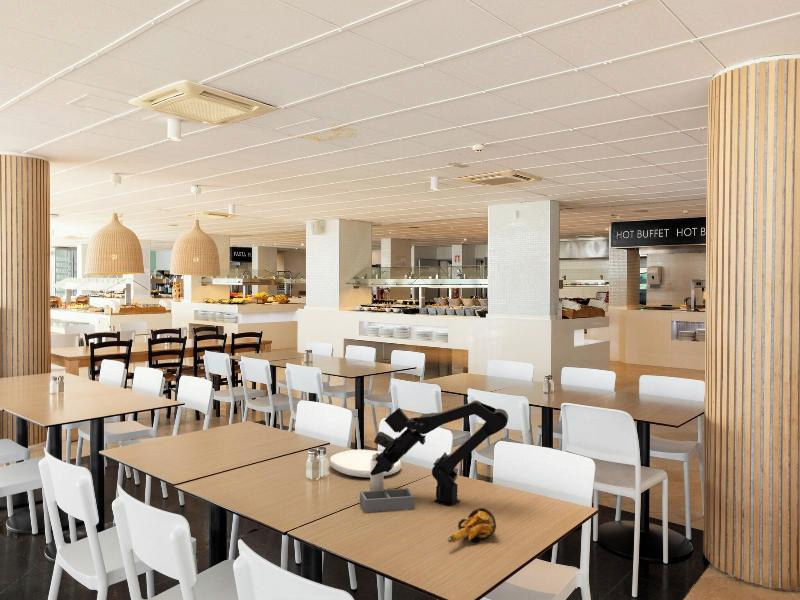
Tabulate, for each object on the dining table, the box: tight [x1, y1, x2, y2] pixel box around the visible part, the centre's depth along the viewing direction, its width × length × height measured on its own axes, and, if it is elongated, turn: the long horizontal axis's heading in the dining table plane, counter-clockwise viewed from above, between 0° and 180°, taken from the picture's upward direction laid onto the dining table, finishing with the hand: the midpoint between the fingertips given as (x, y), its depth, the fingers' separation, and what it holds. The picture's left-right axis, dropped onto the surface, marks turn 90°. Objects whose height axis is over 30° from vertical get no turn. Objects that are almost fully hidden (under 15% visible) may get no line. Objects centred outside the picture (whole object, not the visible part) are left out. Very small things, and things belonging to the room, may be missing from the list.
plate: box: [329, 449, 402, 478], centre depth 239 cm, size 28×6×27 cm
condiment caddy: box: [359, 487, 416, 514], centre depth 199 cm, size 16×9×4 cm, turn 104°
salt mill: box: [369, 453, 385, 491], centre depth 210 cm, size 5×5×14 cm
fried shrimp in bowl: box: [447, 507, 497, 545], centre depth 171 cm, size 9×11×18 cm
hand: (373, 472), depth 210 cm, fingers closed on salt mill, 5 cm apart
